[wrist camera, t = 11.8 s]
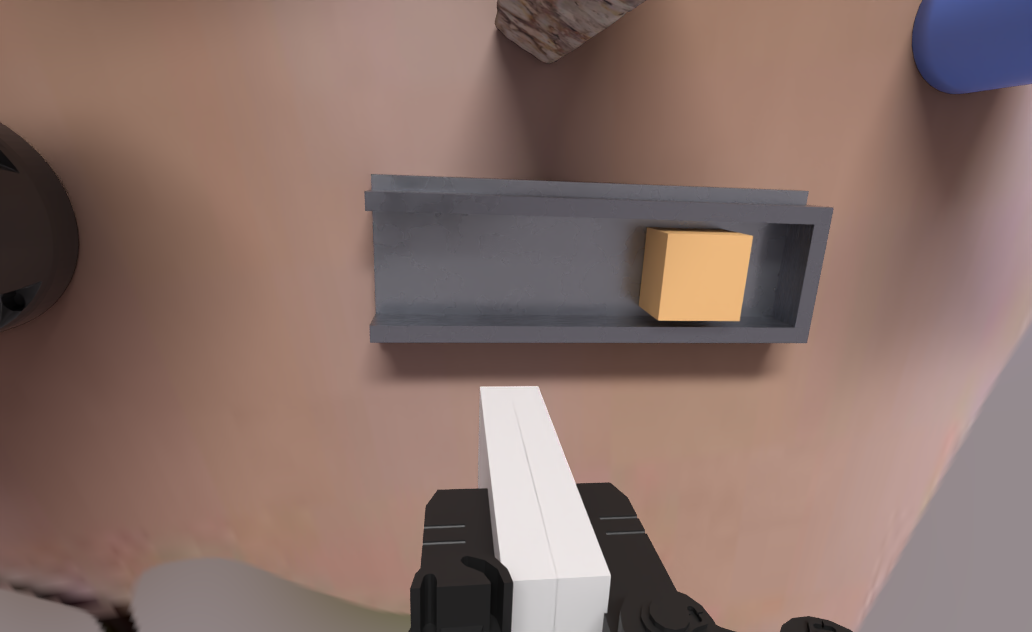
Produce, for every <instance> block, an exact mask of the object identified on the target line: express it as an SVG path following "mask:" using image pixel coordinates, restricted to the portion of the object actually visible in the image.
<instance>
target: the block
mask: <svg viewBox="0 0 1032 632" xmlns="http://www.w3.org/2000/svg"><path fill="white" fill-rule="evenodd" d="M752 240H753V236H751V235H747V234H742V233H738V232H734V231H729V230H725V229H696V228H661V227H647V232H646V241H645V251H644V260H643V270H642V279H641V289H640V298H639V307H641V308H642V309H643V310H645V311H646V312H647V313H649V314H650V315H651V316H653V317H654V318H655V319H657V320H658V321H740V315H741V309H742V303H743V297H744V290H745V284H746V278H747V272H748V265H749V259H750V253H751V247H752Z"/></svg>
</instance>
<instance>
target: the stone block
mask: <svg viewBox="0 0 1032 632" xmlns="http://www.w3.org/2000/svg"><path fill="white" fill-rule="evenodd" d="M644 1H646V0H498V1H497V15H496V19H495V26H496V28H498V29H499V30H500V31H501V32H502V33H503V34H504V35H505V36H506V37H507V38H508V39H510V40H511V41H513V42H515V43H516V44H517V45H519V46H520V47H521V48H523V49H524V50H526V51H527V52H529V53H531V54H533V55H534V56H535V57H536V58H538V59H539V60H540V61H542V62H545V63H549V64H550V63H552V62H556V61H557V60H558V59H559V58H560V57H563V56H565V55H566V54H568V53H570V52H571V51H573V50H575V49H576V48H578V47H579V46H581V45H582V44H583V43H585V42H586V41H587V40H589V39H591V38H592V37H594V36H595V35H596V34H598V33H599V32H601V31H603V30H604V29H606V28H607V27H608V26H610V25H611V24H613V23H614V22H615V21H617V20H618V19H619V18H621V17H622V16H623V15H624V14H625V13H626V12H629V11H632V10H633V9H634V8H635V7H637V6H638V5H640V4H641V3H643V2H644Z"/></svg>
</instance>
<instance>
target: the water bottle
mask: <svg viewBox="0 0 1032 632" xmlns="http://www.w3.org/2000/svg"><path fill="white" fill-rule="evenodd" d="M912 48H913V55H914V59H915V62H916V65H917V68H918V70H919V72H920V73H921V75H922V77H923V78H924V79H925V80H926V81H927V82H928V83H929V84H930V85H931V86H932V87H934V88H936V89H937V90H939V91H942V92H945V93H949V94H964V93H971V92H978V91H985V90H992V89H999V88H1006V87H1012V86H1019V85H1026V84H1032V0H922V2H921V4H920V6H919V9H918V12H917V15H916V18H915V22H914V27H913V33H912Z"/></svg>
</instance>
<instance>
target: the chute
mask: <svg viewBox="0 0 1032 632" xmlns="http://www.w3.org/2000/svg"><path fill="white" fill-rule="evenodd" d="M371 183H372V190H368V191H365V211H372V213H373V242H374V272H375V302H376V314H375V316H374V318H373V320H372V322H371V324H370V343H807V339H808V334H809V329H810V324H811V319H812V314H813V309H814V304H815V299H816V294H817V289H818V284H819V279H820V274H821V269H822V264H823V259H824V254H825V249H826V244H827V239H828V234H829V229H830V224H831V218H832V213H833V208H832V207H823V206H813V205H806V203H807V197H808V192H809V191H797V190H771V189H745V188H719V187H694V186H668V185H642V184H616V183H590V182H564V181H538V180H513V179H487V178H461V177H435V176H409V175H383V174H371ZM647 227H661V228H696V229H725V230H729V231H734V232H738V233H742V234H747V235H751V236H753V240H752V247H751V253H750V259H749V265H748V272H747V278H746V284H745V290H744V297H743V303H742V309H741V315H740V321H658V320H657V319H655V318H654V317H653V316H651V315H650V314H649V313H647V312H646V311H645V310H643V309H642V308H641V307H639V298H640V289H641V279H642V270H643V260H644V251H645V241H646V232H647Z"/></svg>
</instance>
